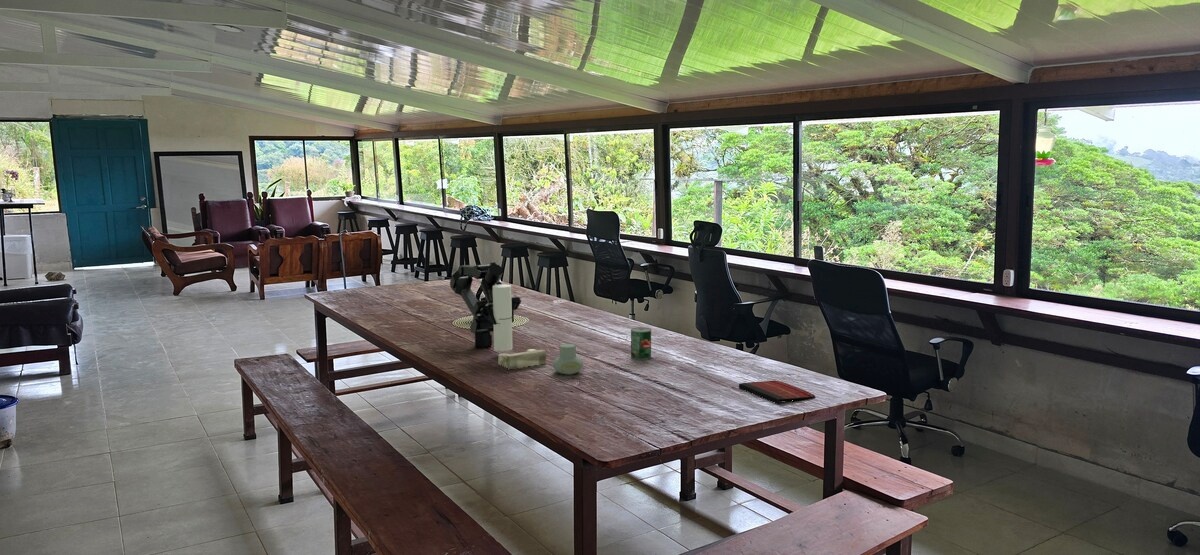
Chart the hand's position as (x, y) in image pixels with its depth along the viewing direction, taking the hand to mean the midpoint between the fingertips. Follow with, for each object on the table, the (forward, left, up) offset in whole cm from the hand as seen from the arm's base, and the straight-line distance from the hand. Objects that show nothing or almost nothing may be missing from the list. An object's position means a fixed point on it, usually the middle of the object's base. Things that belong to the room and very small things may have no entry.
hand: (504, 323), depth 318 cm
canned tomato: (+51, -13, -14) cm, 55 cm away
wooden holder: (+5, -13, -13) cm, 20 cm away
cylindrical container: (-1, +1, -11) cm, 11 cm away
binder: (+83, -69, -14) cm, 109 cm away
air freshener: (+20, -29, -14) cm, 38 cm away
